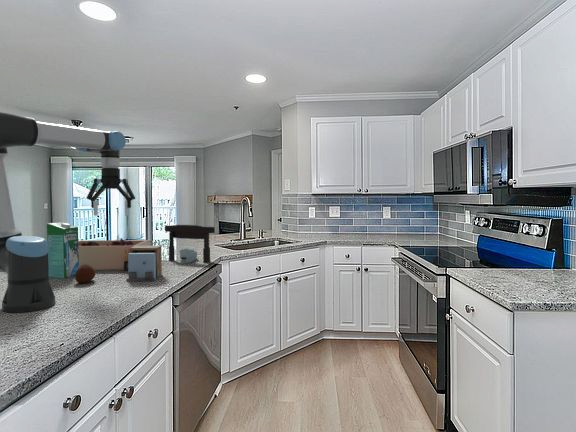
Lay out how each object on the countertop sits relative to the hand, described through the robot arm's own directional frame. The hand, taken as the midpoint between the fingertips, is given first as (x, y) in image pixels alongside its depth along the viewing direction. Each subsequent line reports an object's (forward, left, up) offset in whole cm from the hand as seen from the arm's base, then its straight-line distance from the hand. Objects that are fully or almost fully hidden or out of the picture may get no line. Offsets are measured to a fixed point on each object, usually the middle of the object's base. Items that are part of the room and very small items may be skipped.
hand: (111, 215), depth 177 cm
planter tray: (+38, +16, -29) cm, 50 cm away
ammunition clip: (+21, -4, -29) cm, 36 cm away
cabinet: (+1, -14, -29) cm, 32 cm away
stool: (+49, -27, -29) cm, 62 cm away
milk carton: (+9, +25, -29) cm, 39 cm away
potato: (-6, +9, -29) cm, 31 cm away
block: (-3, -14, -29) cm, 32 cm away
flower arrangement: (+38, +15, -29) cm, 50 cm away
